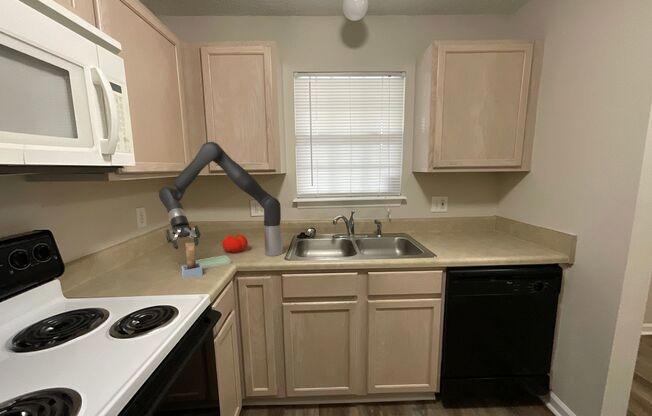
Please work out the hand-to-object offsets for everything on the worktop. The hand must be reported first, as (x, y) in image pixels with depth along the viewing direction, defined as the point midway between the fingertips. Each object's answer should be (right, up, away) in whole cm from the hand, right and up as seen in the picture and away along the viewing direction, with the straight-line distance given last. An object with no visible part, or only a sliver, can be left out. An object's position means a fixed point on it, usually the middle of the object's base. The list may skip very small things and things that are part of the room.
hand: (187, 246), depth 128 cm
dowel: (+3, -13, -1) cm, 13 cm away
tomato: (+10, -8, +37) cm, 40 cm away
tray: (+6, -11, +14) cm, 19 cm away
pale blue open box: (+3, -14, -1) cm, 14 cm away
